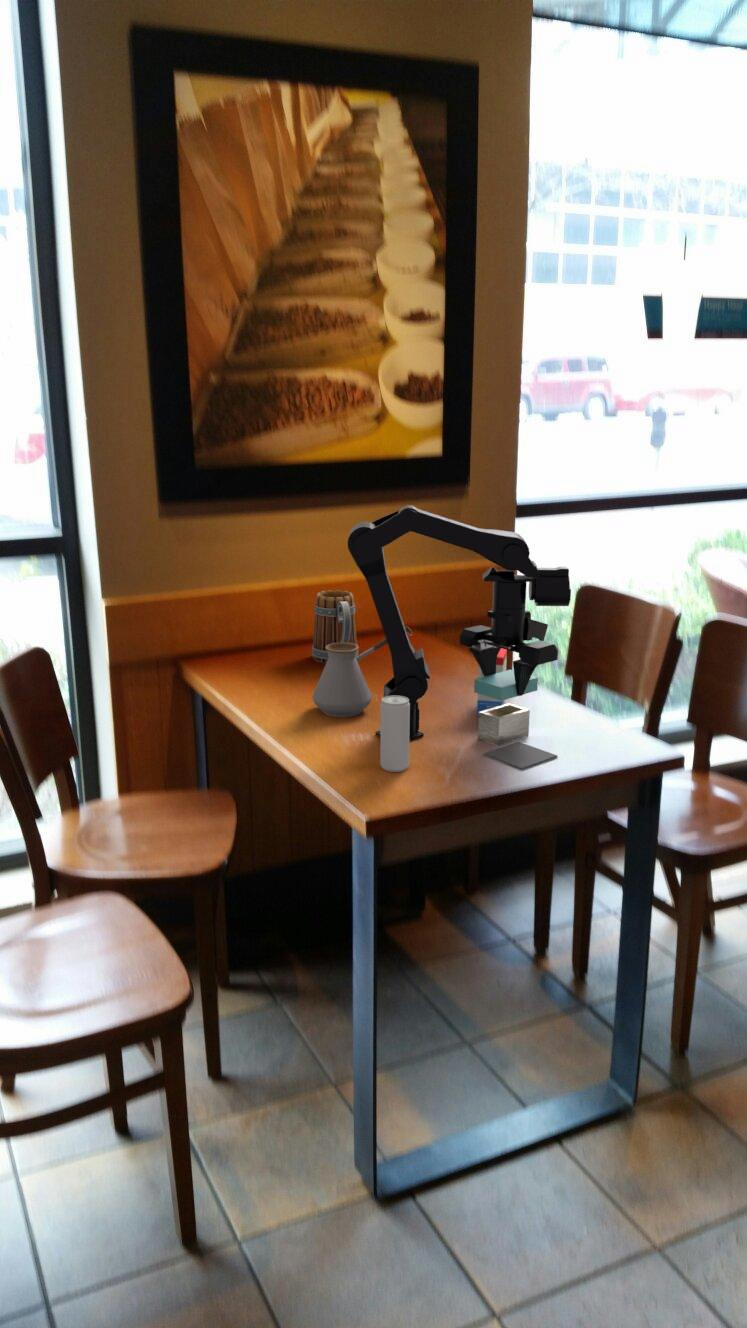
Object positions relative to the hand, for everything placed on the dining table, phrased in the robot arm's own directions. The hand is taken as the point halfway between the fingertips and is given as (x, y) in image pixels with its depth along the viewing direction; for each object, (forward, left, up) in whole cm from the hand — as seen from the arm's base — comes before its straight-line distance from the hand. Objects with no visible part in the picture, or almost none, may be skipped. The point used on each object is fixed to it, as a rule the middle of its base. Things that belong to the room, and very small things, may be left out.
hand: (505, 690), depth 193 cm
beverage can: (-25, +2, -9) cm, 27 cm away
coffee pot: (-8, +30, -9) cm, 32 cm away
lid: (0, 0, +1) cm, 1 cm away
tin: (0, 0, -9) cm, 9 cm away
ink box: (+10, +13, -9) cm, 18 cm away
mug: (+8, +58, -9) cm, 59 cm away
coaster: (-5, -8, -9) cm, 13 cm away
